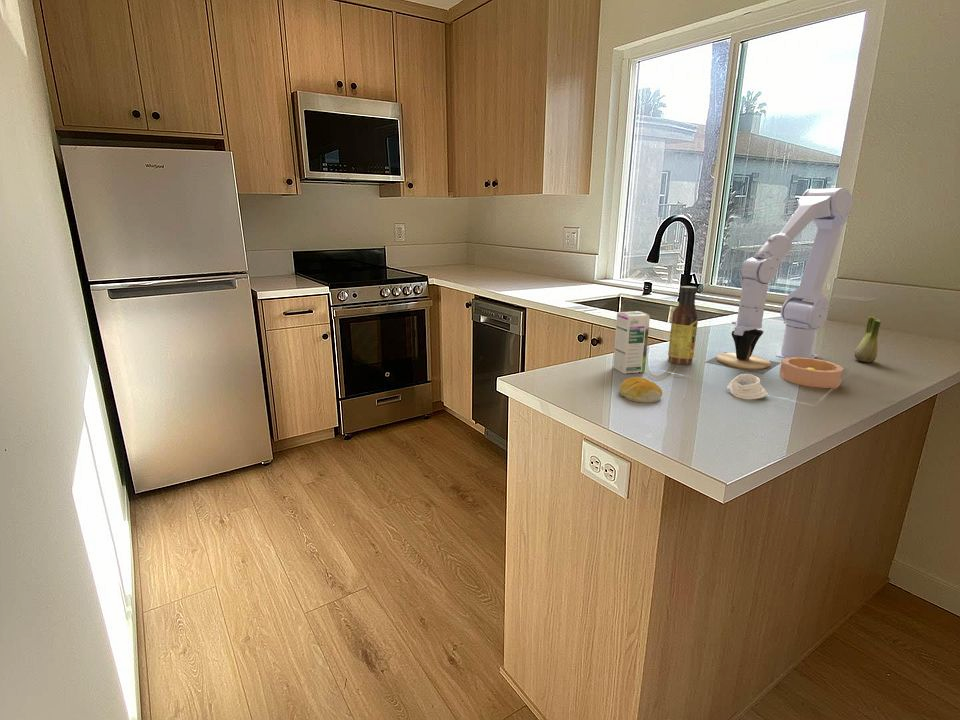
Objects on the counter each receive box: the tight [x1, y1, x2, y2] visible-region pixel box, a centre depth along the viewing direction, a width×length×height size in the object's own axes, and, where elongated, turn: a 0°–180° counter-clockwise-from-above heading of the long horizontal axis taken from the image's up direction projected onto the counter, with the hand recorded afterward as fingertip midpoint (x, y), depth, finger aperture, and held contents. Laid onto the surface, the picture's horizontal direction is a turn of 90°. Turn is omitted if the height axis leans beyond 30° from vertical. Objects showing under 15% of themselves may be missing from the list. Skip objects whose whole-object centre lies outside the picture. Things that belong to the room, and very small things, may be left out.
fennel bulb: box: [853, 316, 882, 363], centre depth 139 cm, size 6×5×12 cm
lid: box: [717, 347, 771, 370], centre depth 136 cm, size 13×13×4 cm
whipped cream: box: [726, 373, 769, 401], centre depth 113 cm, size 8×7×5 cm
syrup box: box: [612, 310, 651, 375], centre depth 128 cm, size 6×6×14 cm
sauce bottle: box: [667, 285, 699, 366], centre depth 134 cm, size 6×6×20 cm
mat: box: [705, 352, 781, 375], centre depth 137 cm, size 14×14×1 cm
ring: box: [779, 357, 844, 390], centre depth 123 cm, size 12×12×4 cm
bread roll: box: [619, 376, 663, 404], centre depth 112 cm, size 8×9×4 cm
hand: (743, 357), depth 136 cm, fingers closed on lid, 3 cm apart
